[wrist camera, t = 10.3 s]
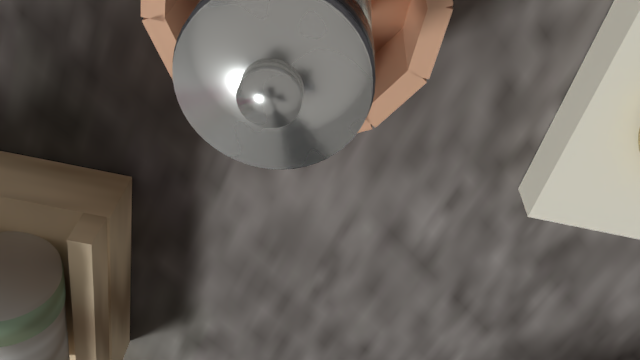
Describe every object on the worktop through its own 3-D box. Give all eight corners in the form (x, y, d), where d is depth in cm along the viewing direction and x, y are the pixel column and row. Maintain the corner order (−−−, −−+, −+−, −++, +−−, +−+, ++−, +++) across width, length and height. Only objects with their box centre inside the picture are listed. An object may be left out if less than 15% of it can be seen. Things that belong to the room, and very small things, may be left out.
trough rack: (129, 341, 28) (78, 470, 23) (2, 318, 28) (-79, 444, 23) (132, 177, 22) (63, 301, 17) (-30, 144, 22) (-148, 263, 17)
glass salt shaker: (354, 49, 18) (348, 202, 12) (228, 22, 18) (158, 164, 12) (388, -84, 16) (402, 22, 10) (244, -118, 16) (167, -29, 10)
